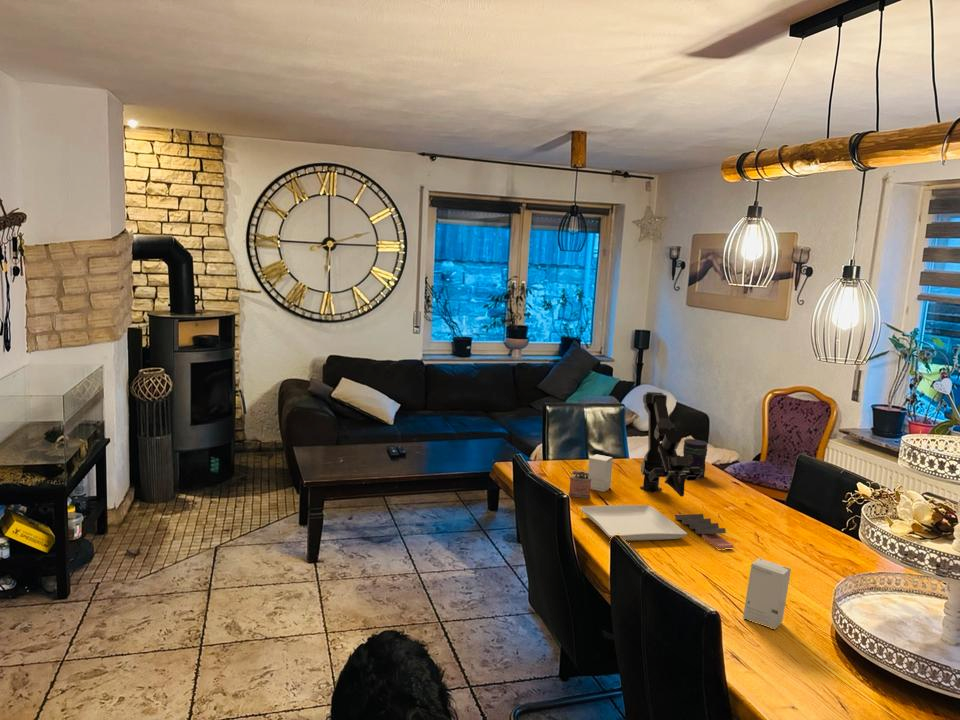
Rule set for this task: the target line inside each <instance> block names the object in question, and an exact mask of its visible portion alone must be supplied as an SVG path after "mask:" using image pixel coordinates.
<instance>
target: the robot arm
mask: <svg viewBox="0 0 960 720" xmlns="http://www.w3.org/2000/svg"><path fill="white" fill-rule="evenodd" d="M642 403H643V404H644V405H643V406H644V410H645V411H646V413H647V414H648V416H647V417H648V419H647V420H648V421H647V422H648V428H647V429H648V439H647V441H648V445H647V446H648V450H647V452H646V453H645V454H644V456H643V457H644V458H643V460H642V463H641V464H640V473H641V474H642V475H643V477H644V478H643V485H641V486H639V488H640V489H642V490H645V491H648V492H651V493H656V492H658V491H661V490H662V489H663V487H660V478H664V479H665V480H664V484H667V485H668V486H669V487H671V488H672V490H674V492H675V493H677V494H678V496H680V497H681V498H682V497H684V496H685V483H686V481H688V482H691V481H692V482H694V481H697V480H699V479H698V478H699V477H700V476H701V475H702V474H703V473H702V470H701V468H699V467H690V468H689V469H688V470H687V471H683V470H682V469H685V466H686V465H690V463H693V457H692V455H691V454H687V455H685V456H683V455H678V452H677V449H678V447H679V445H680V443H681V442H682V439H683V436H682V434H681V432H680V431H678V430H677V429H676V427H675V424H674V423H673V422H672V421H671V420H670V416H669V411H668V406H667V395H666V394H664V393H663V392H656V391H655V392H654V391H646V393H644V394H643V397H642Z"/></svg>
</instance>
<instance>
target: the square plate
mask: <svg viewBox="0 0 960 720" xmlns="http://www.w3.org/2000/svg"><path fill="white" fill-rule="evenodd" d="M579 509H581V511H582V513H583V514H584V515H585V516H586V517H588V519H589V520H591V521H592V522H593V523H594V524H595V525H596V526H598V527H599V529H600V530H602V531H603V533H604V534H605V535H606V536H607V537H608V538H610V537H612V536H613V535H620V536H622V537H624V538H625V539H626V540H627V541H626V542H634V541H636V540H637V541H658V540H659V541H660V540H664V541H665V540H676V539H677V540H679V539H682V538H685V537H686V536H688V532H686V531H685V530H684V529H682V527H680V526H679V525H677V524H676V523H675V522H673V520H672V519H669V518H668V517H667V516H665V515H664V514H663V513H661V512H660V511H658V510H657V509H656V508H655V507H653V506H651V505H649V504H616V505H615V504H613V505H612V504H611V505H608V504H607V505H592V506H591V505H590V506H589V505H588V506H579ZM618 533H619V534H618ZM610 539H611V538H610Z"/></svg>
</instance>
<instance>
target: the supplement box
mask: <svg viewBox="0 0 960 720" xmlns="http://www.w3.org/2000/svg"><path fill="white" fill-rule="evenodd" d="M613 458H614V457H612V456H606V455H603V454H602V455H601V454H598V453H597V454H593V455H592V456H590V457H588V470H587V472H589V475H588V477H590V478H592V480H591V486H590V490H593V491H598V492H602V493H603V492H606V491H608V490H609V488H610V489H611V486H612V472H613Z"/></svg>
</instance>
